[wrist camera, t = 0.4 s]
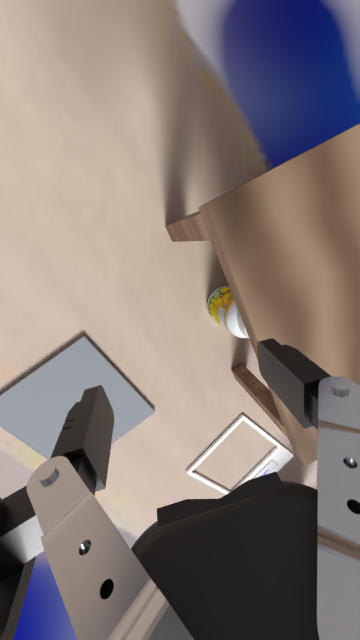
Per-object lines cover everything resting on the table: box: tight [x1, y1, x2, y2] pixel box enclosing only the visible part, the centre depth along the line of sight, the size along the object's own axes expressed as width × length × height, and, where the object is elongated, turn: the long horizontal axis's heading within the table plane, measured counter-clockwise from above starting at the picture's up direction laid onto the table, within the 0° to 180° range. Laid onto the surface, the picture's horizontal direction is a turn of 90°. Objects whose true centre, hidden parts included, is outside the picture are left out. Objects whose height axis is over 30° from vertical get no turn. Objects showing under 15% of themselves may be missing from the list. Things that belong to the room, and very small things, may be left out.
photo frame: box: [186, 414, 294, 495], centre depth 45 cm, size 15×1×18 cm
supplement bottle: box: [207, 286, 250, 339], centre depth 30 cm, size 5×5×10 cm
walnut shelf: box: [165, 124, 360, 467], centre depth 27 cm, size 17×27×16 cm, turn 25°
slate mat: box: [0, 335, 155, 460], centre depth 33 cm, size 16×16×1 cm
